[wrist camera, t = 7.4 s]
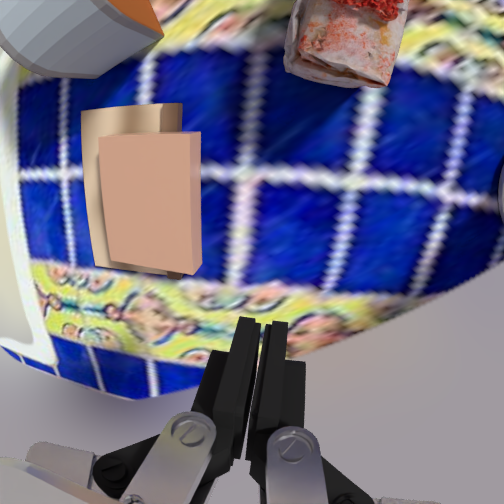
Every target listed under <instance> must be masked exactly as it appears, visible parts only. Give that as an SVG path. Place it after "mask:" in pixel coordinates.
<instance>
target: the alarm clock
mask: <svg viewBox="0 0 504 504" xmlns="http://www.w3.org/2000/svg"><path fill="white" fill-rule="evenodd" d="M163 37H164V33H163V31H162V29H161V26H160V24H159V22H158V20H157V17H156V15H155V13H154V11H153V8H152V6H151V4H150V2H149V0H0V46H1V47H2V49H3V50H4V51H5V52H6V53H7V54H8V55H9V56H10V57H11V58H12V59H13V60H14V61H16V62H17V63H19V64H20V65H22V66H23V67H24V68H26V69H28V70H30V71H32V72H35V73H37V74H39V75H43V76H49V77H59V78H86V79H96V78H98V77H99V76H101V75H102V74H104V73H105V72H107V71H108V70H110V69H111V68H113V67H114V66H116V65H117V64H119V63H120V62H122V61H124V60H125V59H127V58H128V57H130V56H132V55H133V54H135V53H137V52H138V51H140V50H142V49H143V48H145V47H147V46H149V45H150V44H152V43H154V42H156V41H158V40H160V39H161V38H163Z"/></svg>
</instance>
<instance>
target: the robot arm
mask: <svg viewBox="0 0 504 504" xmlns="http://www.w3.org/2000/svg"><path fill="white" fill-rule="evenodd" d="M498 202H499V210H500V214H501V218H502V221H503V223H504V165H503V167H502V171H501V175H500V180H499V189H498ZM260 330H261V323H255V318H248V317H241V316H240V317H239V320H238V323H237V327H236V330H235V334H234V337H233V341H232V344H231V348H230V351H229V352H223V351H217V350H212V352H211V354H210V357H209V360H208V363H207V366H206V368H205V371H204V374H203V377H202V380H201V383H200V386H199V388H198V391H197V394H196V397H195V400H194V403H193V406H192V408H191V411H190V412H182V413H179V414H177V415H175V416H174V417H172V418H171V419H170V420H169V421H168V423H167V424H166V426H165V428H164V429H163V431H162V432H161V434H158V435H156V436H154V437H151V438H149V439H146V440H143V441H141V442H138V443H136V444H133V445H130V446H128V447H125V448H122V449H119V450H117V451H114V452H111V453H108V454H106V455H104V456H100V455H95V454H94V452H89V451H84V450H79V449H74V448H70V447H65V446H61V445H56V444H52V443H48V442H38V443H35V444H34V445H32V446H31V447H30V449H29V451H28V453H27V456H26V459H25V461H24V460H19V459H15V458H9V457H0V504H207V503H208V501H209V499H210V497H211V494H212V492H213V490H214V488H215V485H216V483H217V481H218V478H219V476H221V475H223V474H225V473H227V472H228V471H229V470H230V466H233V461H234V458H235V459H240V457H241V453H242V448H243V443H244V438H245V432H246V427H247V422H248V417H249V412H250V419H249V428H248V439H247V448H246V458H245V460H248V461H251V466H250V473H249V474H250V475H251V476H252V478H253V479H254V480H255V481H256V482H257V483H258V495H259V504H440V503H438V502H434V501H417V500H404V499H394V498H386V497H382V498H381V499H377V498H371V497H370V496H369V495H368V494H367V493H365V492H364V491H363V490H362V489H360V488H359V487H358V486H357V485H355V484H354V483H353V482H352V481H350V480H349V479H348V478H347V477H346V476H344V475H343V474H342V473H341V472H340V471H338V470H337V469H336V468H335V467H334V466H333V465H331V464H330V463H329V462H328V461H327V460H326V459H324V458H323V457H322V456H321V453H320V447H319V443H318V441H317V438H316V437H315V436H314V435H313V434H312V433H311V432H310V431H308V430H307V429H304V411H305V376H306V364H305V362H302V361H292V360H285V357H286V345H287V332H288V322H281V321H273V322H272V325H270V324H266V326H265V332H264V338H263V344H262V350H261V355H260V361H259V367H258V372H257V378H256V370H257V360H258V350H259V340H260ZM255 379H256V383H255ZM254 385H255V389H254ZM253 390H254V395H253ZM252 396H253V400H252ZM251 401H252V405H251ZM250 407H251V411H250Z"/></svg>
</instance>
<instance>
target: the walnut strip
mask: <svg viewBox="0 0 504 504" xmlns="http://www.w3.org/2000/svg"><path fill="white" fill-rule="evenodd" d="M162 132H182V103H165V104H163V112H162ZM183 275H184V273H179V272H173V271H167V277H168V278H169V279H177V280H181V278H182V277H183Z"/></svg>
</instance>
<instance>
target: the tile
mask: <svg viewBox="0 0 504 504" xmlns="http://www.w3.org/2000/svg"><path fill="white" fill-rule="evenodd" d="M98 144H99V163H100V176H101V188H102V198H103V207H104V216H105V224H106V231H107V238H108V245H109V252H110V258H111V260H112V261H118V262H123V263H128V264H134V265H139V266H145V267H150V268H156V269H162V270H167V271H173V272H179V273H185V274H191V275H194V273H195V272H196V271H197V270H198V268H199V267H200V266H201V264H202V245H201V183H200V159H201V132H146V133H125V134H112V135H106V136H101V137H98Z"/></svg>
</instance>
